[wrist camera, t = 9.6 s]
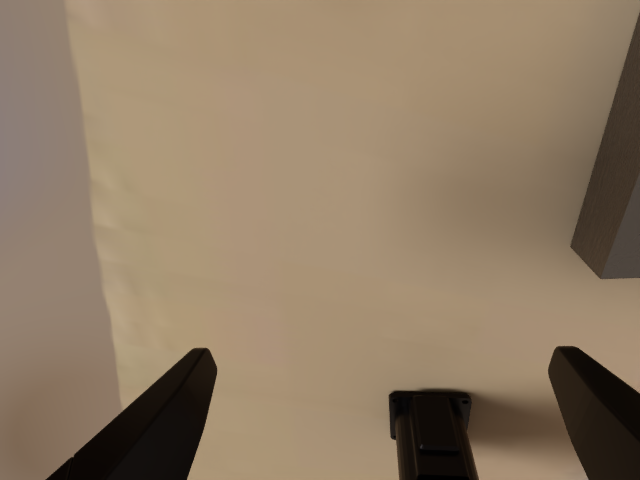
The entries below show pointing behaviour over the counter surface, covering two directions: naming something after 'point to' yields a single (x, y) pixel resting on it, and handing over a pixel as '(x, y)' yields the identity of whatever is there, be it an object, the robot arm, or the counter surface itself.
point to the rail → (615, 184)
